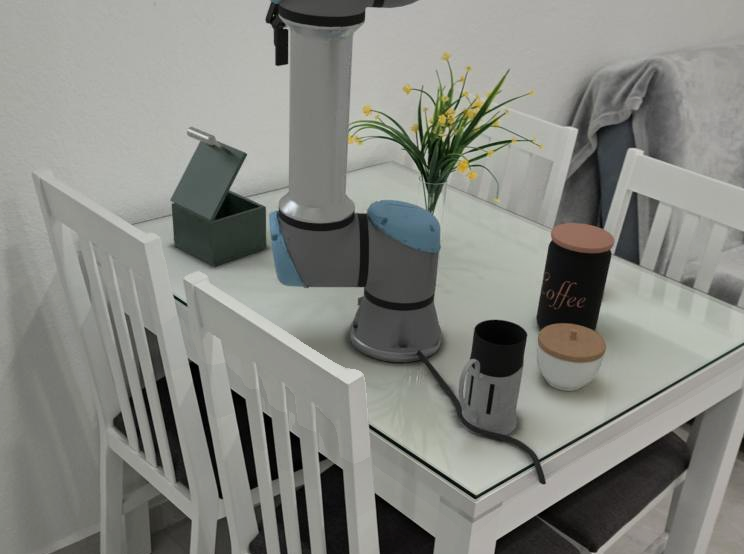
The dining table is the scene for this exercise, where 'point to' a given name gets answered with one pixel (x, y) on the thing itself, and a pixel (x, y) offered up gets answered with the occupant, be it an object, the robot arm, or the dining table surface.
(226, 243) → the bin
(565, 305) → the coffee jar
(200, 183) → the bin lid
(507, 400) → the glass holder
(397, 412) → the dining table surface
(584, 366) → the trinket box
